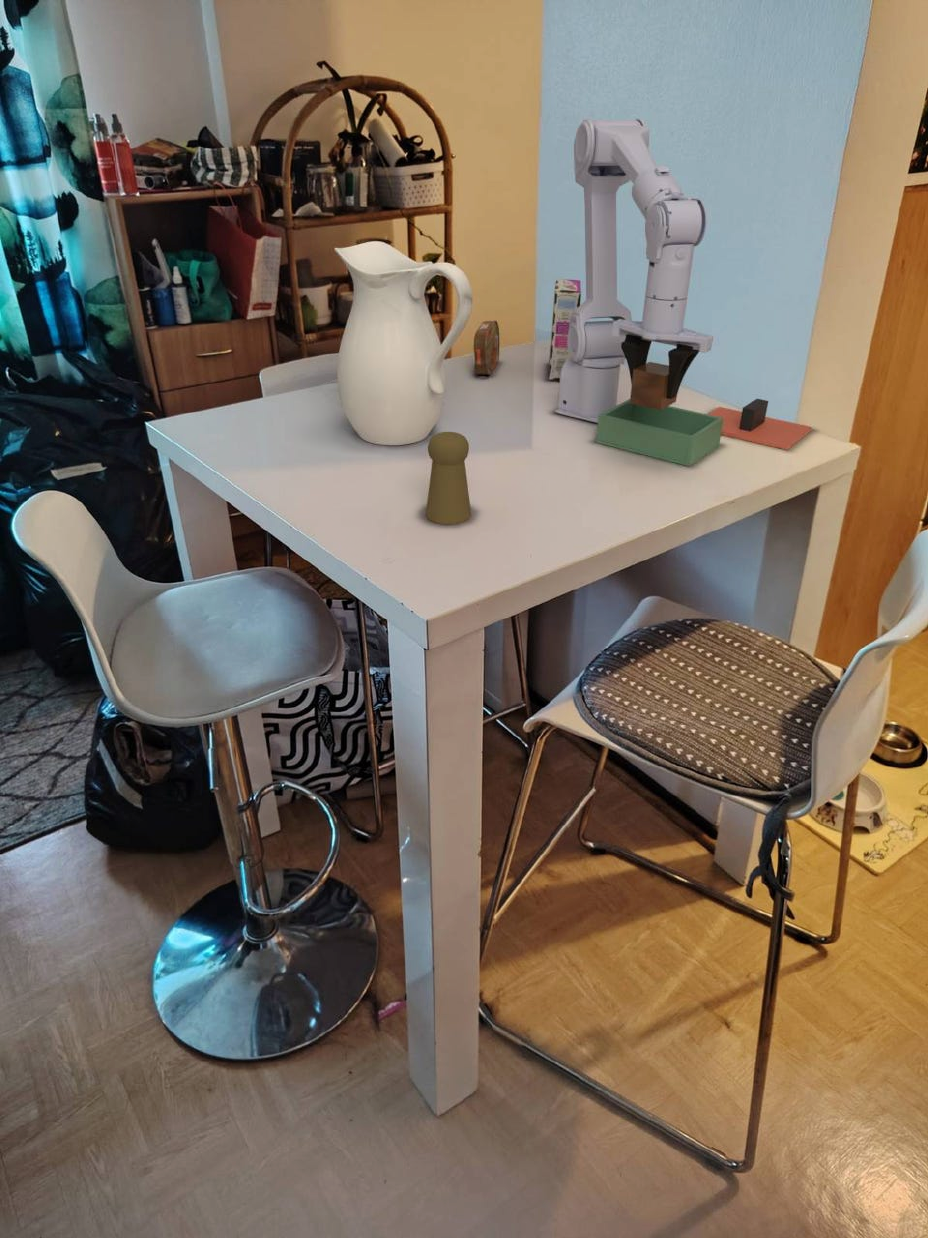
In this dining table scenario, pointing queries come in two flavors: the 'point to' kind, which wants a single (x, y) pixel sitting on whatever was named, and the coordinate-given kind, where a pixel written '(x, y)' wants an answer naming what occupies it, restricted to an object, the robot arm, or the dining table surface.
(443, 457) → the olive pawn figure
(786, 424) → the lunchbox lid
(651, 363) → the walnut block
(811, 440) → the dining table surface
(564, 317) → the candy bar box
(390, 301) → the pitcher
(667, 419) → the box
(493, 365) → the tin
